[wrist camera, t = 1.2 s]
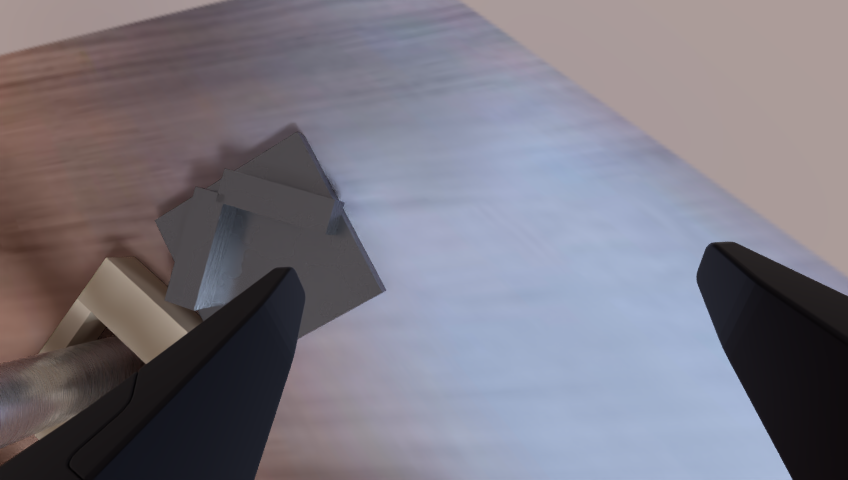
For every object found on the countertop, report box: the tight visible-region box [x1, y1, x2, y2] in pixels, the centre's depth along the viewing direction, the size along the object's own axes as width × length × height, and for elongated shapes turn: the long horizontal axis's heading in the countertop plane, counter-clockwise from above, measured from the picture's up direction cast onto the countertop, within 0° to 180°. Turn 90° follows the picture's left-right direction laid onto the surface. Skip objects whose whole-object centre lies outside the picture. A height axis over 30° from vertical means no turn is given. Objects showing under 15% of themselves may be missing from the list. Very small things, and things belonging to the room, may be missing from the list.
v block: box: [155, 132, 386, 339], centre depth 24 cm, size 11×12×2 cm
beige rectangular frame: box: [34, 257, 203, 440], centre depth 26 cm, size 12×8×2 cm, turn 142°
